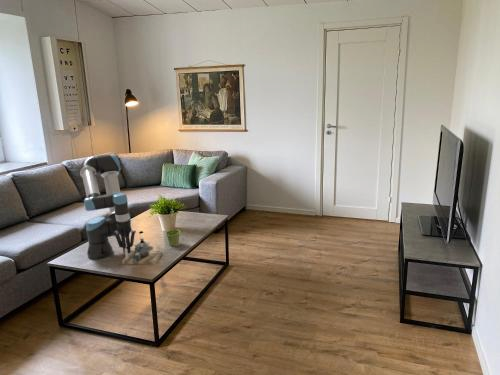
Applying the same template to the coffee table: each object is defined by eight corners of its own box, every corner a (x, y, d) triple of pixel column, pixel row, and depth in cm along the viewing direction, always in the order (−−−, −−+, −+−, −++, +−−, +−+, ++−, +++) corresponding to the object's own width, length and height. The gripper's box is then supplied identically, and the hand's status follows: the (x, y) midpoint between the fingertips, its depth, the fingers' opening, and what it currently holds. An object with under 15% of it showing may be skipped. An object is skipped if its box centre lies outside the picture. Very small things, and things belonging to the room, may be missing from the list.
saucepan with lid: (138, 252, 234) (136, 241, 232) (150, 252, 234) (149, 241, 232) (128, 264, 219) (127, 252, 217) (142, 264, 218) (140, 252, 216)
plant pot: (182, 246, 247) (180, 233, 245) (167, 248, 244) (166, 235, 242) (180, 240, 256) (179, 228, 253) (166, 242, 253) (165, 230, 251)
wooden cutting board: (122, 263, 225) (122, 260, 224) (131, 253, 238) (130, 250, 238) (156, 263, 223) (155, 260, 223) (162, 253, 237) (162, 250, 236)
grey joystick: (148, 227, 248) (133, 229, 246) (149, 232, 239) (132, 234, 236) (150, 244, 252) (135, 246, 249) (151, 250, 242) (135, 252, 240)
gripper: (109, 222, 213) (114, 260, 219) (131, 222, 212) (136, 260, 218) (114, 218, 220) (119, 255, 226) (136, 217, 219) (140, 255, 225)
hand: (127, 257), depth 222 cm, fingers closed
